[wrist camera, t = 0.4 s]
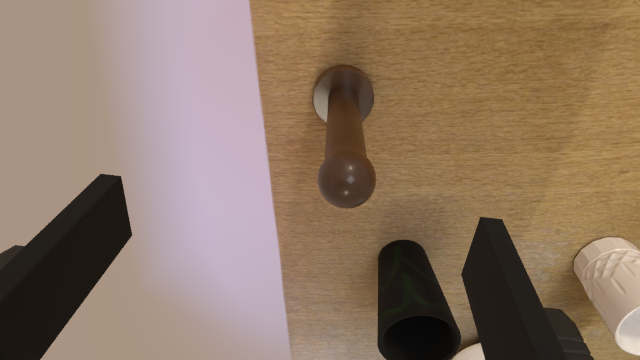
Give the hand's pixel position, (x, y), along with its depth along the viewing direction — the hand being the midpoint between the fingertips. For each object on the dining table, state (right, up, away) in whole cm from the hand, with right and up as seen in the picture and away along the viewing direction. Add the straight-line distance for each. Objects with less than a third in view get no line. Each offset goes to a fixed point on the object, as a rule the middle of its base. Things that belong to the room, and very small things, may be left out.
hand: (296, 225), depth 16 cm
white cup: (+34, -7, +34) cm, 48 cm away
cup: (+11, -7, +35) cm, 37 cm away
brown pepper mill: (+3, +10, +25) cm, 27 cm away
